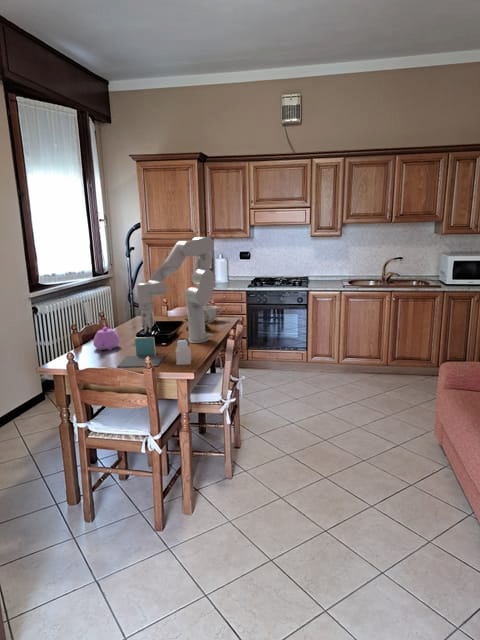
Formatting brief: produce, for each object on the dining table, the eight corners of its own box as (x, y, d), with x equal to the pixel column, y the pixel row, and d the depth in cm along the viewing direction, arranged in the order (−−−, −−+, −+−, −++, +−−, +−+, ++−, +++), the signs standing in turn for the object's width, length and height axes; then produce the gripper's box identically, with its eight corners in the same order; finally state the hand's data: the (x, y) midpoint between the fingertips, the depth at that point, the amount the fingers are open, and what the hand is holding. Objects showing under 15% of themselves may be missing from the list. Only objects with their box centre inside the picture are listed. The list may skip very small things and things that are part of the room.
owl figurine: (180, 331, 283) (179, 304, 279) (190, 327, 293) (188, 301, 290) (205, 333, 275) (203, 306, 272) (214, 328, 286) (213, 302, 282)
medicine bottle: (177, 360, 223) (175, 337, 221) (191, 359, 224) (189, 337, 221) (176, 365, 216) (174, 341, 214) (190, 364, 217) (189, 340, 214)
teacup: (221, 323, 300) (221, 308, 297) (199, 323, 300) (199, 309, 298) (222, 319, 311) (222, 305, 309) (201, 319, 312) (200, 305, 309)
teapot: (111, 354, 238) (109, 332, 236) (86, 354, 240) (83, 332, 238) (125, 343, 258) (123, 323, 255) (102, 343, 260) (99, 323, 257)
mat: (164, 355, 232) (164, 354, 232) (157, 366, 215) (157, 365, 215) (126, 356, 233) (126, 355, 232) (117, 367, 216) (117, 366, 216)
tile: (155, 355, 234) (154, 336, 232) (155, 356, 233) (153, 337, 230) (137, 355, 234) (135, 337, 232) (136, 356, 233) (134, 338, 231)
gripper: (149, 308, 229) (152, 342, 233) (156, 303, 244) (158, 335, 248) (135, 309, 229) (138, 343, 234) (142, 303, 244) (145, 335, 248)
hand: (148, 339), depth 241 cm, fingers closed
